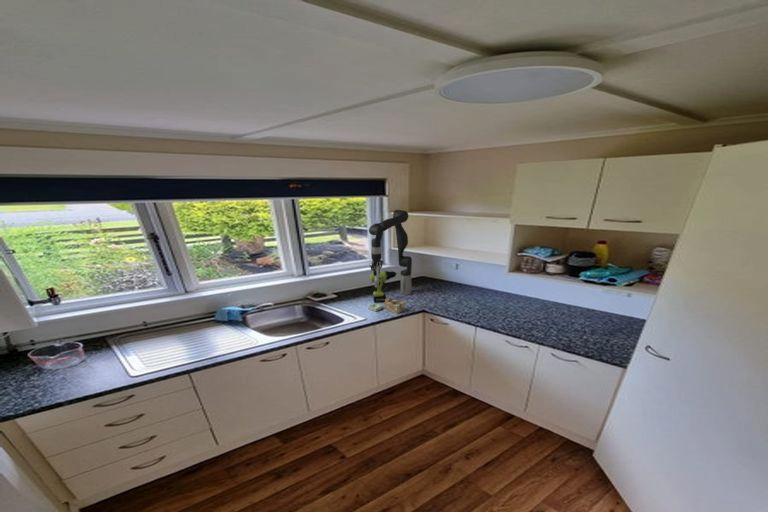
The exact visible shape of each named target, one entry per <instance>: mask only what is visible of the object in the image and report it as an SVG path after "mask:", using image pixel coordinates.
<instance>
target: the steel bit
mask: <svg viewBox="0 0 768 512" xmlns="http://www.w3.org/2000/svg"><path fill="white" fill-rule="evenodd" d="M375 267H376V266H375ZM374 269H375V268H374ZM376 274H377V275H376V276H375V282H374V288H375V287H379V266H377V269H376Z"/></svg>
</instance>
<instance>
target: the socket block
mask: <svg viewBox="0 0 768 512" xmlns="http://www.w3.org/2000/svg"><path fill="white" fill-rule="evenodd" d="M405 306H406V305H405V302H404V301H401V300H399V299H398V300H397V299H392V300H391V301H390V302H388V303H386V308H385V311H386V312H389V313H392V314H396V315H398V314H400V313H401V312H403V311H405V309H406V308H405Z"/></svg>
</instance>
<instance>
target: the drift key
mask: <svg viewBox="0 0 768 512" xmlns="http://www.w3.org/2000/svg"><path fill="white" fill-rule="evenodd" d="M390 301H392V300H391V298H388V297H386V299H385V302H384V308H385V309H386V303H388V302H390Z"/></svg>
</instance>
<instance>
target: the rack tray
mask: <svg viewBox="0 0 768 512" xmlns="http://www.w3.org/2000/svg"><path fill="white" fill-rule="evenodd" d="M383 308H384V306H383V305H382V304H379V303H372V304H370V305H368V306H367V310H369V311H373V312H379V311H381V310H383Z"/></svg>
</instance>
